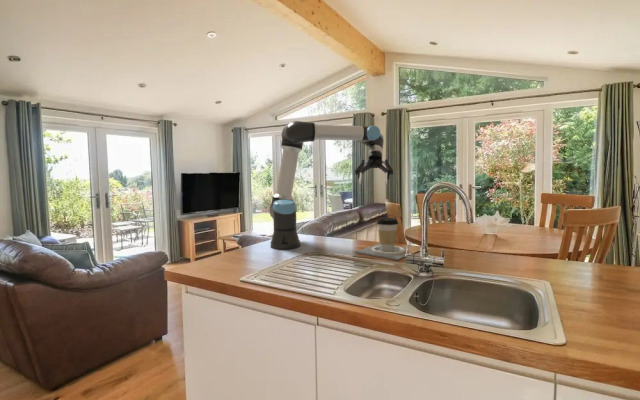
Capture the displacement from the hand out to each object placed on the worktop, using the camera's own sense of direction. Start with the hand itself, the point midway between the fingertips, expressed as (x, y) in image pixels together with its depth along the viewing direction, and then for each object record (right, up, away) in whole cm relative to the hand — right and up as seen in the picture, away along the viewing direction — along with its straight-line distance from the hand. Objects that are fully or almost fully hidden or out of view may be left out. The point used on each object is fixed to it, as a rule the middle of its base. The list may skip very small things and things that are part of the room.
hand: (372, 183), depth 182 cm
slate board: (+5, -33, -16) cm, 37 cm away
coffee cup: (+4, -33, -16) cm, 37 cm away
